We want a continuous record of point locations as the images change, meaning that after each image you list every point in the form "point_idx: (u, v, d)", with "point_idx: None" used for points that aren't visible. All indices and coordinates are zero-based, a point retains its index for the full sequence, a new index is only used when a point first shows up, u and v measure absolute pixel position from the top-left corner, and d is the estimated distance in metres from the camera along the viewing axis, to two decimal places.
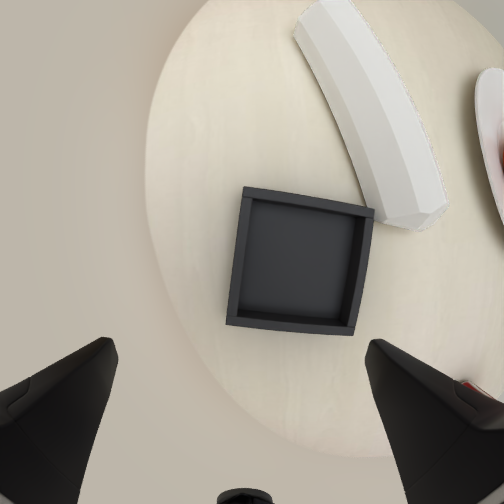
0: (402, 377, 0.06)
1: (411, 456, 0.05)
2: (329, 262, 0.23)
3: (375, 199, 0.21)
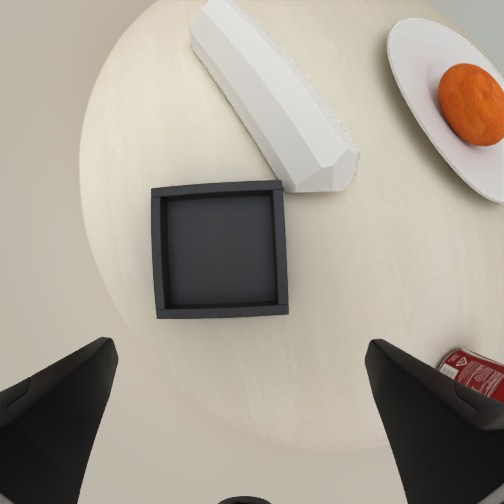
0: (402, 377, 0.06)
1: (411, 456, 0.05)
2: (251, 244, 0.24)
3: (282, 171, 0.22)
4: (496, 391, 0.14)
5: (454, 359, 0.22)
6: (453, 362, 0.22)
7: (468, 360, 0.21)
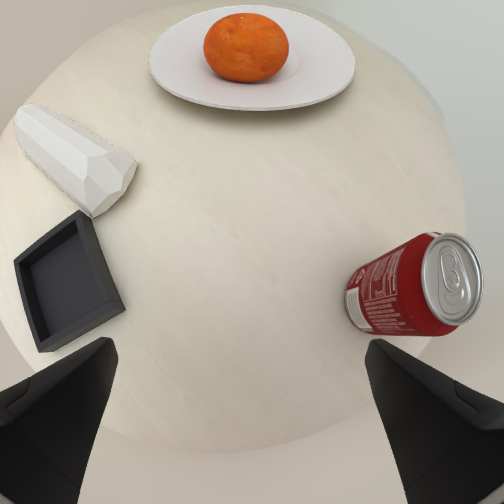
0: (402, 377, 0.06)
1: (411, 456, 0.05)
2: (83, 269, 0.24)
3: (80, 203, 0.24)
4: (399, 273, 0.15)
5: (353, 279, 0.23)
6: (353, 282, 0.22)
7: (366, 268, 0.21)
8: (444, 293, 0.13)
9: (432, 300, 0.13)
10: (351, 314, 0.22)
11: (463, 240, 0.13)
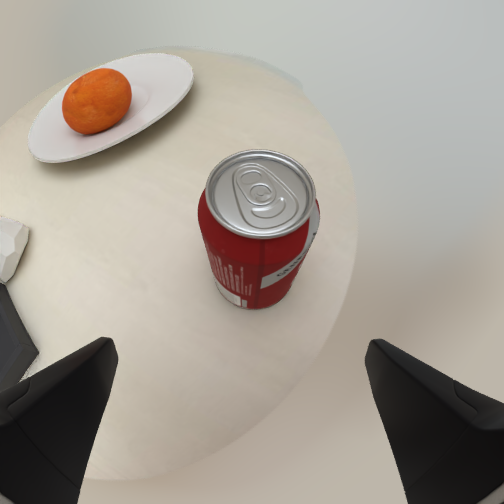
0: (402, 377, 0.06)
1: (411, 456, 0.05)
2: (5, 328, 0.20)
3: None
4: (198, 214, 0.15)
5: None
6: None
7: None
8: (252, 210, 0.14)
9: (232, 221, 0.13)
10: (223, 293, 0.22)
11: (265, 151, 0.15)
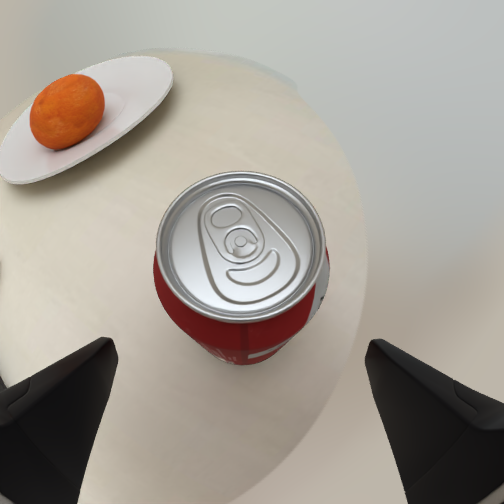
0: (402, 377, 0.06)
1: (411, 456, 0.05)
2: None
3: None
4: (154, 271, 0.10)
5: None
6: None
7: None
8: (227, 271, 0.09)
9: (196, 291, 0.08)
10: None
11: (247, 174, 0.10)
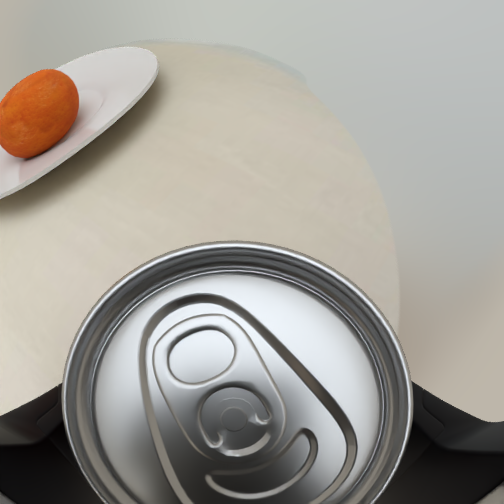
0: None
1: None
2: None
3: None
4: None
5: None
6: None
7: None
8: (208, 475, 0.03)
9: (152, 503, 0.03)
10: None
11: (249, 250, 0.04)
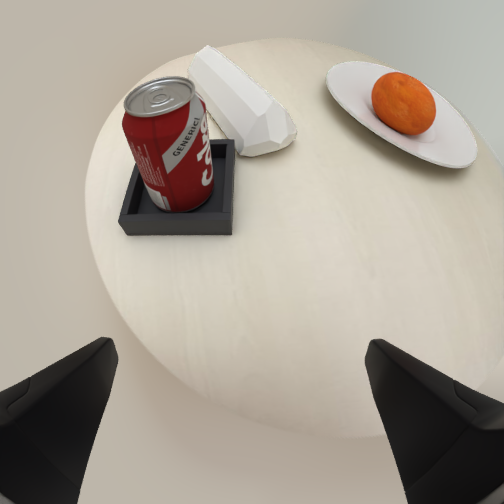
0: (402, 377, 0.06)
1: (411, 456, 0.05)
2: None
3: (236, 136, 0.29)
4: (123, 120, 0.18)
5: None
6: None
7: None
8: (151, 106, 0.17)
9: (136, 112, 0.17)
10: (153, 200, 0.25)
11: (169, 77, 0.18)
